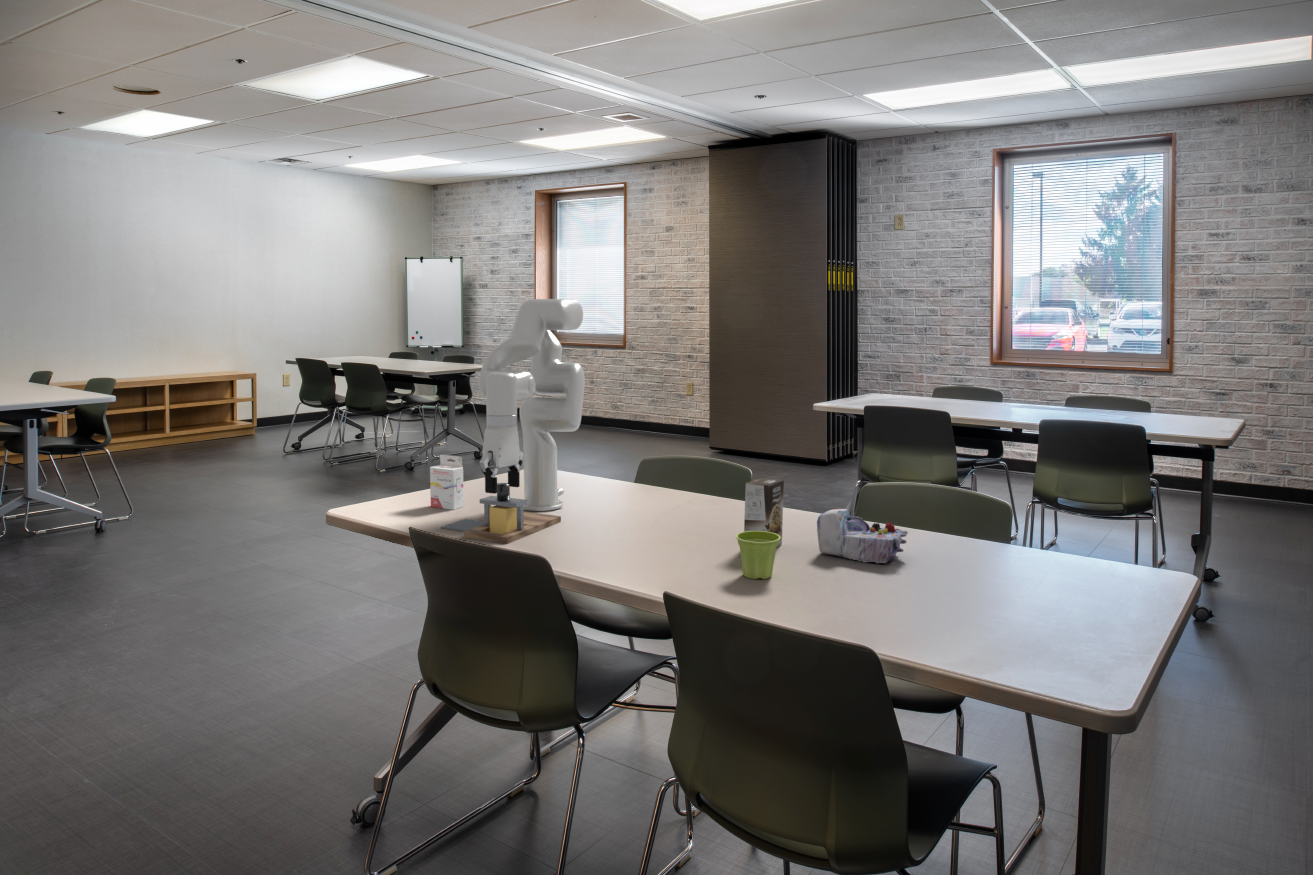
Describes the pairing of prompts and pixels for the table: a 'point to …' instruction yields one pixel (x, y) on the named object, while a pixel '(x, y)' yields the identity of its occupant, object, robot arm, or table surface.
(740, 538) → the plant pot
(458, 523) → the rubber mat
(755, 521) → the coffee box
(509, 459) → the robot arm
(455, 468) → the ink cartridge box
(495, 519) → the ochre block
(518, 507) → the cover bar
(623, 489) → the table surface
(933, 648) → the table surface
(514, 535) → the puzzle board
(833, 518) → the cell model
